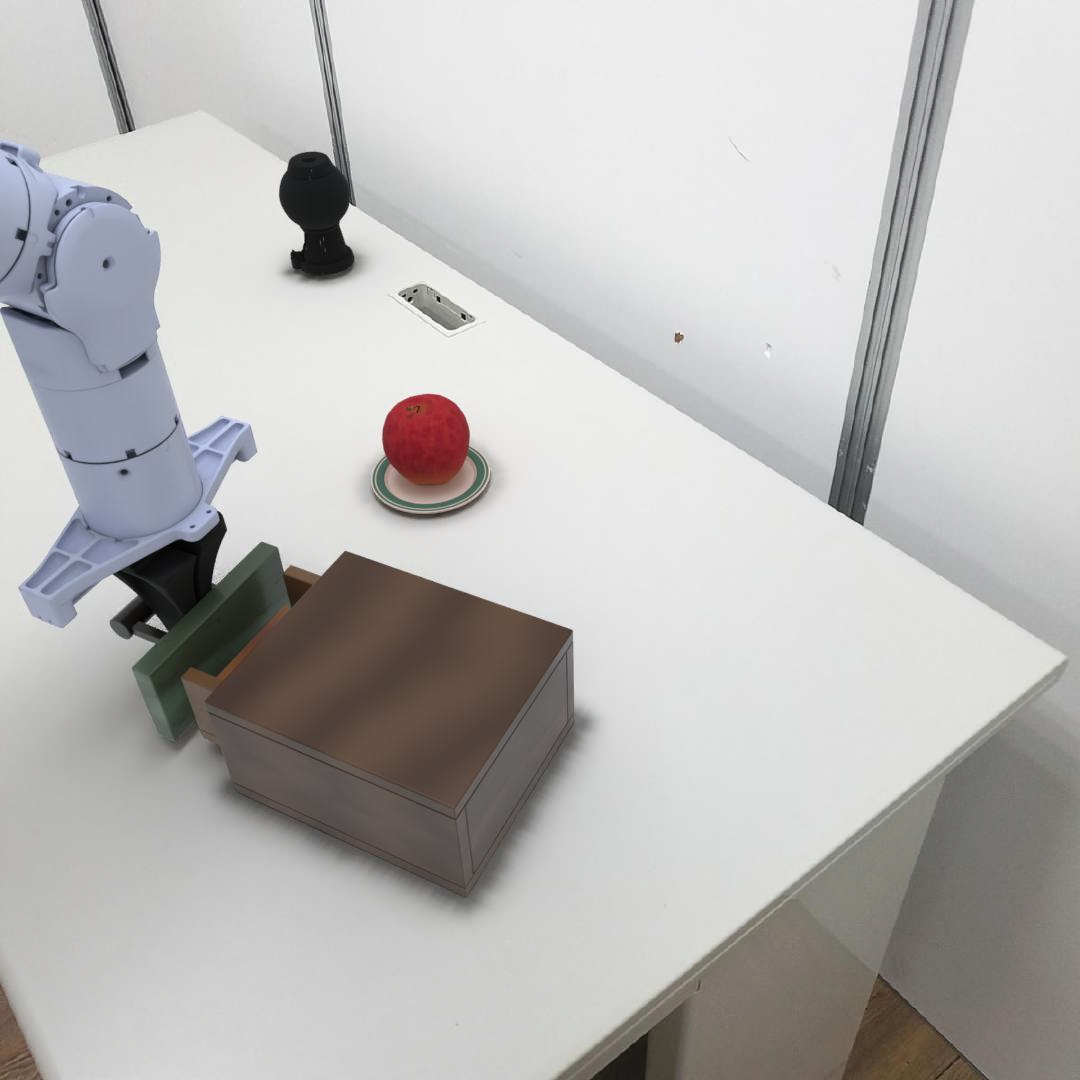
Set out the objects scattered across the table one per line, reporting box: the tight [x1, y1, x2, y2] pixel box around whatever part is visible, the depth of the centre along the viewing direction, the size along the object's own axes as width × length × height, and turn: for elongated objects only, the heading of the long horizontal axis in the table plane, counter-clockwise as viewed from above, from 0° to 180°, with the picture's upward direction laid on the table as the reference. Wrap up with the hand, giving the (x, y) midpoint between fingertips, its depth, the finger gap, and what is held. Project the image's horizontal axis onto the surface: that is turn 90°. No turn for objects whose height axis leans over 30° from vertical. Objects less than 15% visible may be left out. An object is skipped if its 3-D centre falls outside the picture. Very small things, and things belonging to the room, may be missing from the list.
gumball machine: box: [278, 147, 355, 278], centre depth 95 cm, size 7×6×10 cm
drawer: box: [109, 541, 322, 746], centre depth 58 cm, size 17×10×5 cm, turn 63°
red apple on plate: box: [370, 393, 491, 515], centre depth 73 cm, size 8×8×6 cm
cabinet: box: [204, 550, 575, 898], centre depth 56 cm, size 14×12×7 cm
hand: (189, 627), depth 61 cm, fingers closed, pressing on drawer
